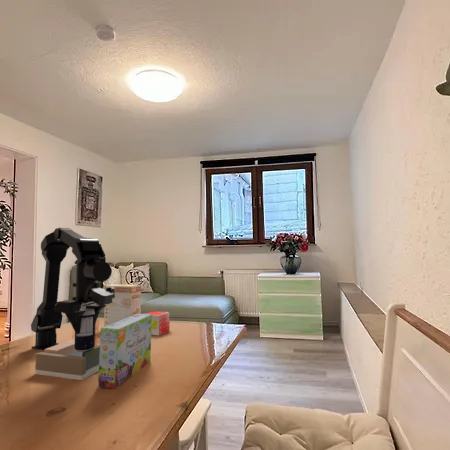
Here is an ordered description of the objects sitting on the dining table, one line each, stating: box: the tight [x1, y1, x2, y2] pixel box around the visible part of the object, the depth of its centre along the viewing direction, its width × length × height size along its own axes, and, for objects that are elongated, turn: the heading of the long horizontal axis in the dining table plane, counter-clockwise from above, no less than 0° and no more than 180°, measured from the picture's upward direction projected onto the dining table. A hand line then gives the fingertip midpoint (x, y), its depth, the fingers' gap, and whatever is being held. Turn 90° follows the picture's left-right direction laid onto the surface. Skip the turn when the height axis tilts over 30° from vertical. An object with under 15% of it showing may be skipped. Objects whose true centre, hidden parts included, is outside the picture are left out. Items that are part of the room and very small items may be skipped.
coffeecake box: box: [103, 283, 142, 327], centre depth 149 cm, size 15×7×20 cm, turn 66°
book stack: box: [43, 338, 83, 357], centre depth 103 cm, size 4×13×5 cm, turn 162°
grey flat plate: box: [82, 344, 100, 370], centre depth 100 cm, size 1×12×5 cm, turn 162°
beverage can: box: [74, 308, 96, 352], centre depth 102 cm, size 6×6×12 cm
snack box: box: [97, 313, 152, 390], centre depth 96 cm, size 21×6×15 cm, turn 168°
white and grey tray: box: [35, 351, 99, 381], centre depth 102 cm, size 16×18×6 cm
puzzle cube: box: [146, 310, 171, 336], centre depth 144 cm, size 8×8×8 cm
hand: (84, 331), depth 102 cm, fingers closed on beverage can, 6 cm apart
